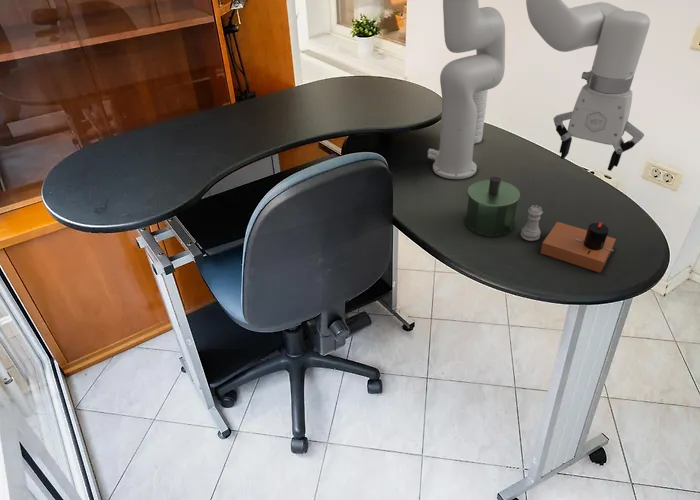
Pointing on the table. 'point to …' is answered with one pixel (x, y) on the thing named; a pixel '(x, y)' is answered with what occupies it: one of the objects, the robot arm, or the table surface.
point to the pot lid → (493, 193)
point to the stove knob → (596, 236)
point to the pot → (490, 219)
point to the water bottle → (480, 113)
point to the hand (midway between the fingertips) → (587, 162)
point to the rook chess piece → (532, 224)
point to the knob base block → (575, 247)
